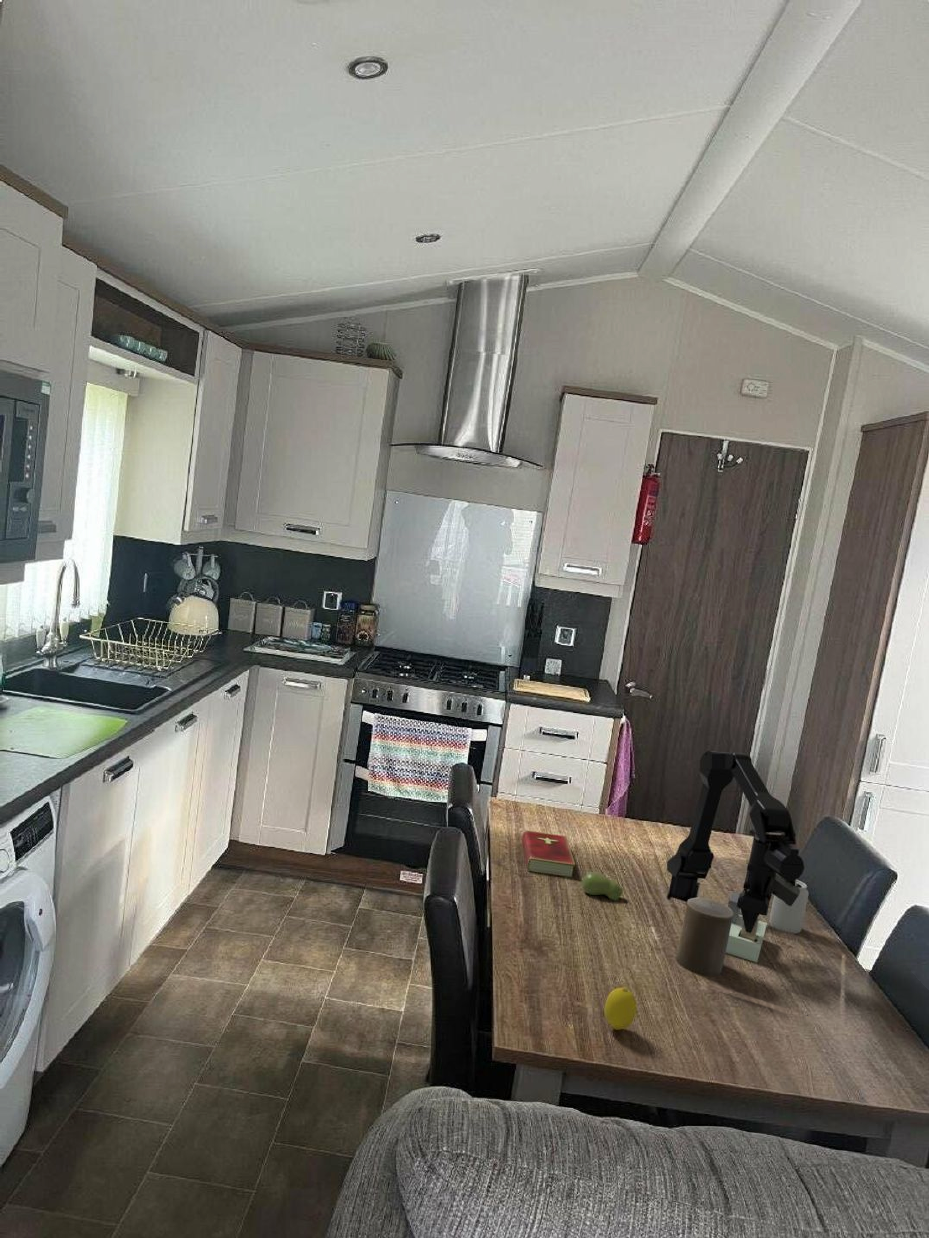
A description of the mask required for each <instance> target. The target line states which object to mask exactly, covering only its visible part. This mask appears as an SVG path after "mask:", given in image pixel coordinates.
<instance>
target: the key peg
mask: <svg viewBox="0 0 929 1238" xmlns="http://www.w3.org/2000/svg"><path fill="white" fill-rule="evenodd" d="M760 916H761V915H759V916H758V918H757V921H756V923H755V925H754V927H753V930H752V932H751V933H748V932H746V930H745V926H744V921H743V925H742V930H741V935H740V937H742V938H745V939H748V940H751V941H755V936H756V931H757V926H758V921H760Z"/></svg>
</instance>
